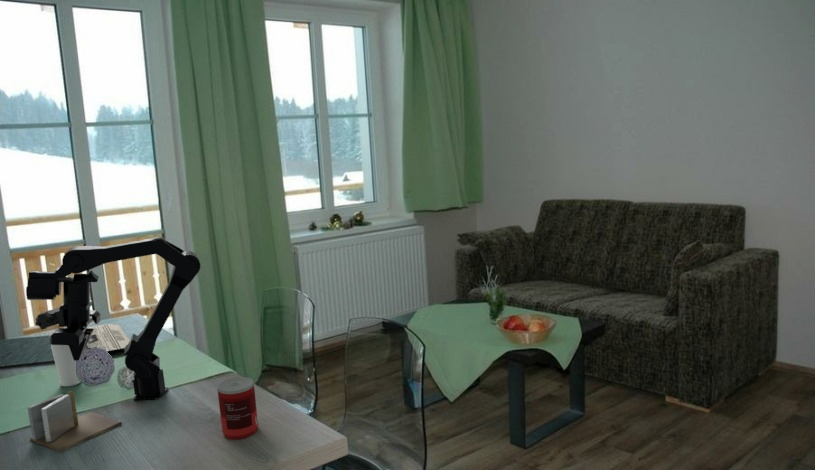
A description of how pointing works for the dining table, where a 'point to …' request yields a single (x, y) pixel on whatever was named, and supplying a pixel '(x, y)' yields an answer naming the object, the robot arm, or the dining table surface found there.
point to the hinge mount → (80, 432)
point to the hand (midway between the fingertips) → (76, 360)
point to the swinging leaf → (57, 418)
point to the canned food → (238, 407)
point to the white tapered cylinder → (64, 364)
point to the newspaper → (107, 337)
